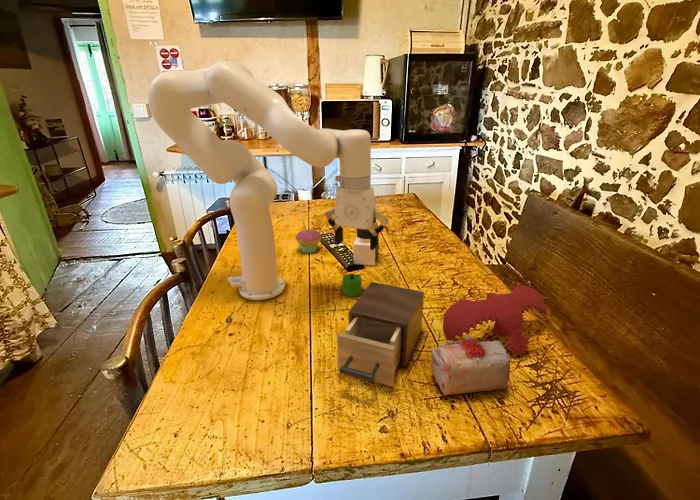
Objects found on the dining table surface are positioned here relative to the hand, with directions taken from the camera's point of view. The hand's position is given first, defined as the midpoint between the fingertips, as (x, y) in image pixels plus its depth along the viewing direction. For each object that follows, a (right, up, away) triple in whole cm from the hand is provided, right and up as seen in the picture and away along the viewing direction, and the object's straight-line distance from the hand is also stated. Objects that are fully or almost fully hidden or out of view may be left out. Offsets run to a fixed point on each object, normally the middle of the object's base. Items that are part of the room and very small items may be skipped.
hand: (356, 245), depth 105 cm
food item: (+21, -27, -27) cm, 44 cm away
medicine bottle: (+4, -5, +23) cm, 24 cm away
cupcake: (-16, -1, +31) cm, 35 cm away
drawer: (+3, -25, -24) cm, 35 cm away
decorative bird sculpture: (+32, -22, -15) cm, 42 cm away
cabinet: (+7, -22, -15) cm, 27 cm away
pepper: (-1, -13, +5) cm, 14 cm away
